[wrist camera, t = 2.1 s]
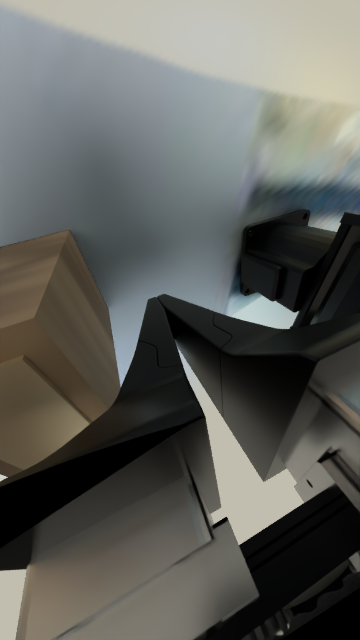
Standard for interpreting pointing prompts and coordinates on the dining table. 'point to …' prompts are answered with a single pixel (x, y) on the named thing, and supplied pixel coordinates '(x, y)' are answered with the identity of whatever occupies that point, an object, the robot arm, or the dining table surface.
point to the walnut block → (50, 350)
